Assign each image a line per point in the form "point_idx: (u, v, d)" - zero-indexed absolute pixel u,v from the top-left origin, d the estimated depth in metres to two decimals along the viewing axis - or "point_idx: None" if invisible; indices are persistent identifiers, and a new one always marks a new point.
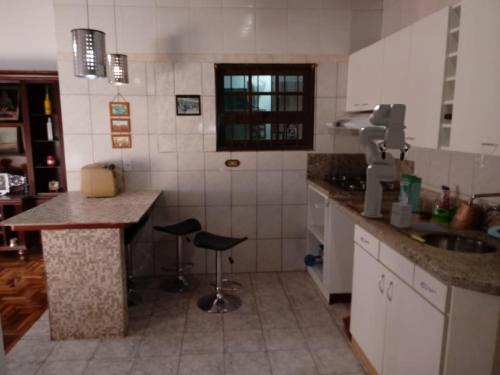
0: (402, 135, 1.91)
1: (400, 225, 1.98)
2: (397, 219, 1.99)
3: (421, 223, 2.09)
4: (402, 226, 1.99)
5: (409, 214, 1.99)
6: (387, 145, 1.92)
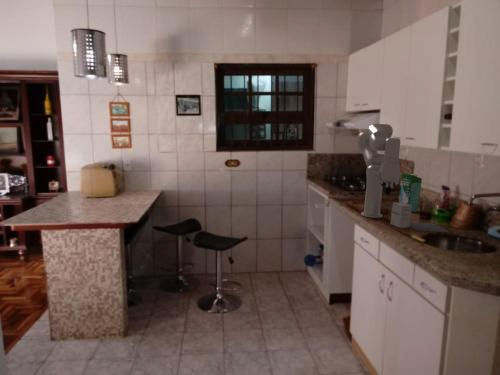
0: (397, 168, 1.95)
1: (400, 225, 1.98)
2: (397, 219, 1.99)
3: (421, 223, 2.09)
4: (402, 226, 1.99)
5: (409, 214, 1.99)
6: (382, 178, 1.96)
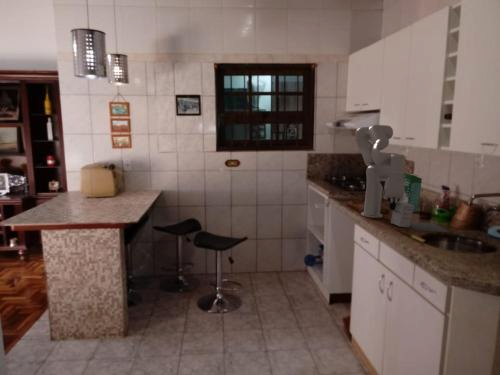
0: (402, 184, 1.96)
1: (400, 224, 1.98)
2: (398, 218, 1.99)
3: (421, 223, 2.09)
4: (402, 225, 1.99)
5: (410, 214, 1.99)
6: (387, 194, 1.98)
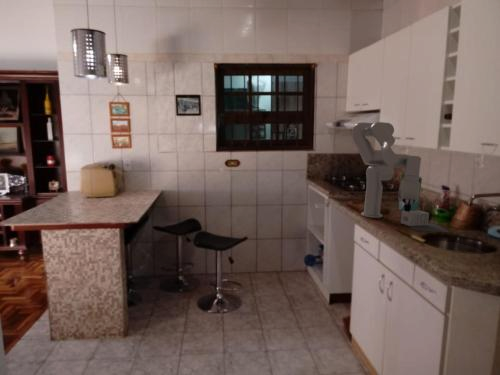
0: (417, 186, 1.97)
1: (412, 214, 2.00)
2: (414, 212, 2.02)
3: None
4: (411, 217, 2.00)
5: (420, 223, 2.02)
6: (402, 195, 1.98)
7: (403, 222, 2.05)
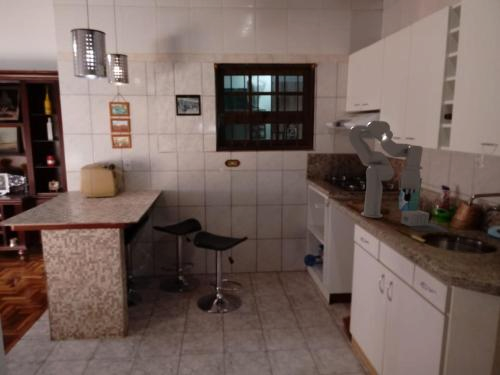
0: (418, 176, 1.96)
1: (412, 214, 2.00)
2: (415, 212, 2.02)
3: None
4: (411, 217, 2.00)
5: (420, 224, 2.02)
6: (403, 185, 1.97)
7: (403, 222, 2.05)
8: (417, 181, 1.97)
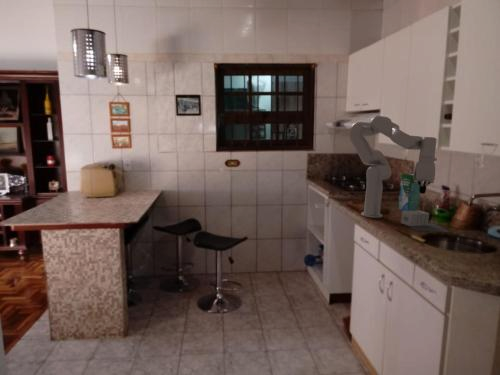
0: (433, 167, 1.95)
1: (412, 214, 2.00)
2: (415, 212, 2.02)
3: None
4: (411, 217, 2.00)
5: (420, 224, 2.02)
6: (418, 177, 1.96)
7: (403, 222, 2.05)
8: (432, 173, 1.95)
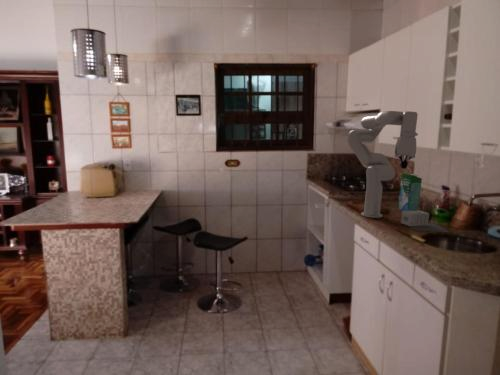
0: (414, 142, 1.95)
1: (412, 214, 2.00)
2: (415, 212, 2.02)
3: None
4: (411, 217, 2.00)
5: (420, 224, 2.02)
6: (399, 152, 1.96)
7: (403, 222, 2.05)
8: (413, 147, 1.95)
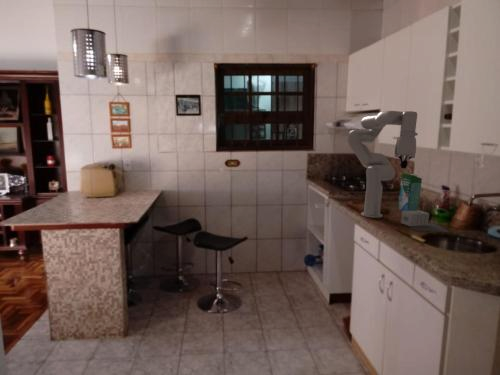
0: (413, 142, 1.95)
1: (412, 214, 2.00)
2: (415, 212, 2.02)
3: None
4: (411, 217, 2.00)
5: (420, 224, 2.02)
6: (399, 151, 1.96)
7: (403, 222, 2.05)
8: (413, 147, 1.95)
